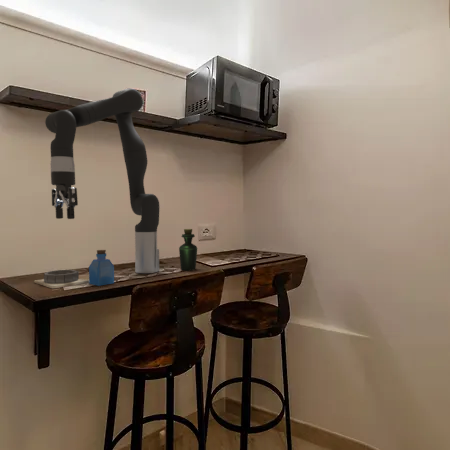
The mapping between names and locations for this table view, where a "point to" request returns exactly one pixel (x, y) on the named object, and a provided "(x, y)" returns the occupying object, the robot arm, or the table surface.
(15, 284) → the table surface
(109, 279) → the perfume bottle
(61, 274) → the hub board
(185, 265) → the potion bottle
